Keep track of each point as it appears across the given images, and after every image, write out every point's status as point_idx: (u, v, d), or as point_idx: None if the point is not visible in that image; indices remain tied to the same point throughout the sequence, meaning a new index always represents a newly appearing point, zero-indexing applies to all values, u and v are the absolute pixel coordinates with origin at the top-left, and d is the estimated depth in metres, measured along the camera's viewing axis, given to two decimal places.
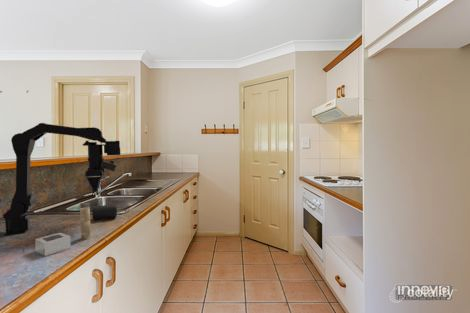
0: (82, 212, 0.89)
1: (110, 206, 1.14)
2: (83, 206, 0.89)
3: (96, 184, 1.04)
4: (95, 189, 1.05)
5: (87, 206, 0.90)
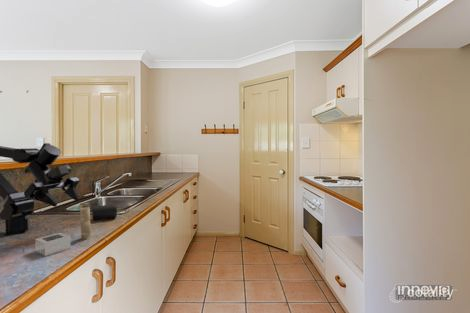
0: (82, 212, 0.89)
1: (110, 206, 1.14)
2: (83, 206, 0.89)
3: (48, 198, 0.87)
4: (53, 203, 0.87)
5: (87, 206, 0.90)
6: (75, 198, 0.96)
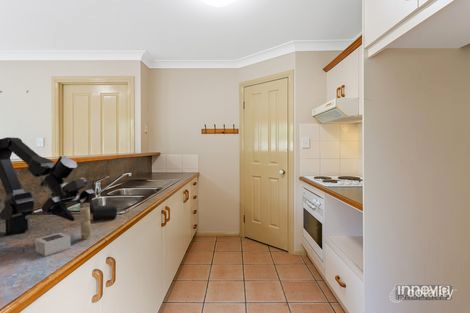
0: (82, 212, 0.89)
1: (110, 206, 1.14)
2: (83, 206, 0.89)
3: (65, 213, 0.85)
4: (70, 218, 0.86)
5: (87, 206, 0.90)
6: (91, 211, 0.95)
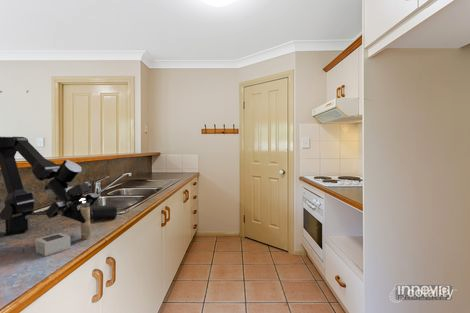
0: (82, 212, 0.89)
1: (110, 206, 1.14)
2: (83, 206, 0.89)
3: (77, 215, 0.88)
4: (82, 220, 0.88)
5: (87, 206, 0.90)
6: None
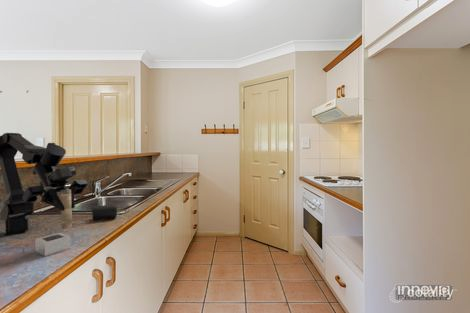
0: (62, 199, 0.82)
1: (110, 206, 1.14)
2: (62, 192, 0.82)
3: (56, 201, 0.81)
4: (60, 207, 0.82)
5: (67, 192, 0.83)
6: None
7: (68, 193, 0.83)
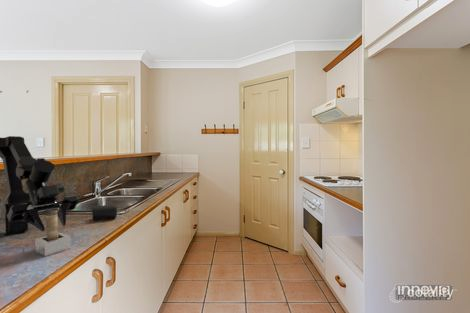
0: (47, 220, 0.79)
1: (110, 206, 1.14)
2: (47, 214, 0.79)
3: (36, 221, 0.77)
4: (41, 228, 0.77)
5: (52, 214, 0.79)
6: (62, 223, 0.82)
7: (53, 214, 0.79)
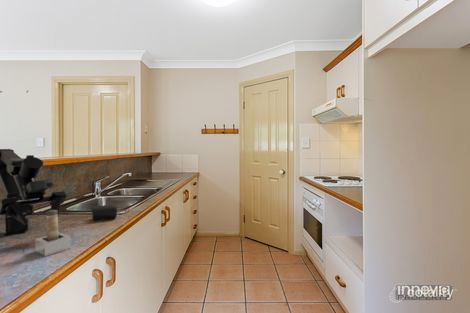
0: (47, 220, 0.79)
1: (110, 206, 1.14)
2: (48, 214, 0.79)
3: (18, 216, 0.81)
4: (23, 221, 0.81)
5: (52, 214, 0.79)
6: None
7: (53, 215, 0.79)
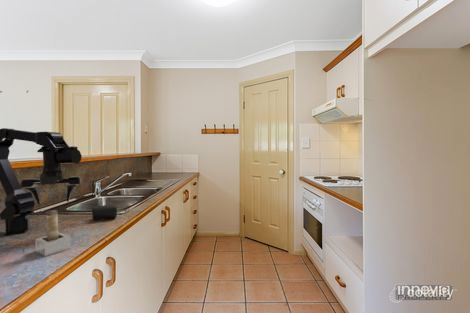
0: (47, 220, 0.79)
1: (110, 206, 1.14)
2: (48, 214, 0.79)
3: None
4: None
5: (52, 214, 0.79)
6: (67, 199, 0.98)
7: (53, 215, 0.79)
